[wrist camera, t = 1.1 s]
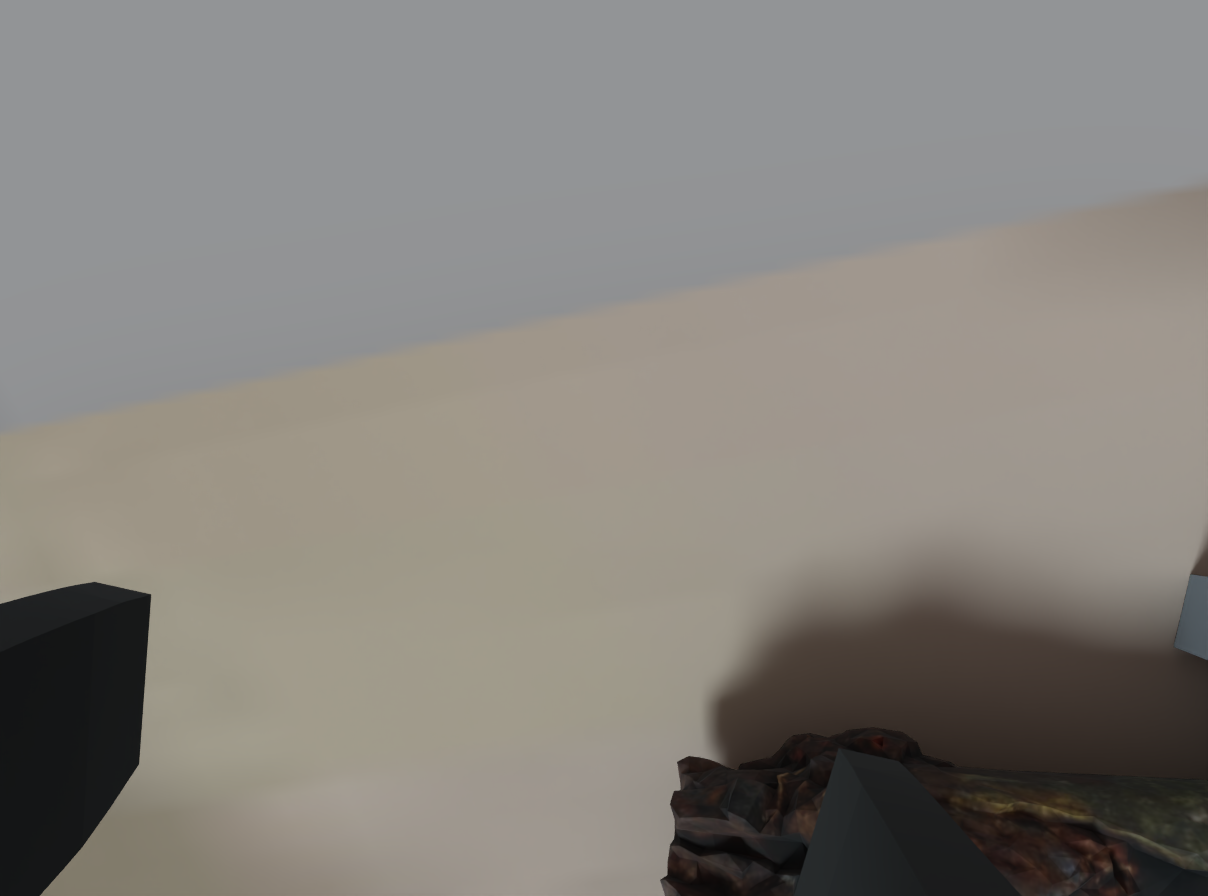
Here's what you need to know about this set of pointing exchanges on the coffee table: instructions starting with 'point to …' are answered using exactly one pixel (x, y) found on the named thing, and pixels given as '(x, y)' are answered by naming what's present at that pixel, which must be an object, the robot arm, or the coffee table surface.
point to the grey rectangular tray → (1194, 619)
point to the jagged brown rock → (971, 798)
